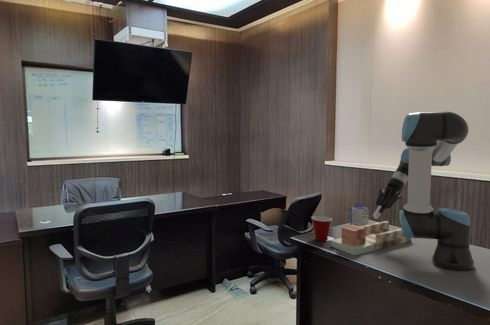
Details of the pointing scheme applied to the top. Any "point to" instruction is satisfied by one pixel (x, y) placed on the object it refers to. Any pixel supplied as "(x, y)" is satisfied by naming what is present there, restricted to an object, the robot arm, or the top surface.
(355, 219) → the ink cartridge box
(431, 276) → the top surface
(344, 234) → the block
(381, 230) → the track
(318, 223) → the plastic cup
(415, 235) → the robot arm
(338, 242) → the pad
